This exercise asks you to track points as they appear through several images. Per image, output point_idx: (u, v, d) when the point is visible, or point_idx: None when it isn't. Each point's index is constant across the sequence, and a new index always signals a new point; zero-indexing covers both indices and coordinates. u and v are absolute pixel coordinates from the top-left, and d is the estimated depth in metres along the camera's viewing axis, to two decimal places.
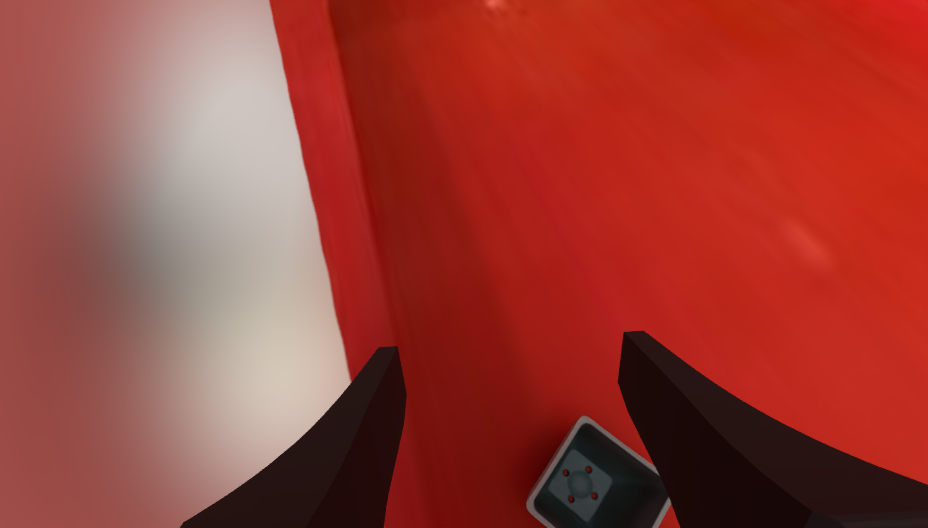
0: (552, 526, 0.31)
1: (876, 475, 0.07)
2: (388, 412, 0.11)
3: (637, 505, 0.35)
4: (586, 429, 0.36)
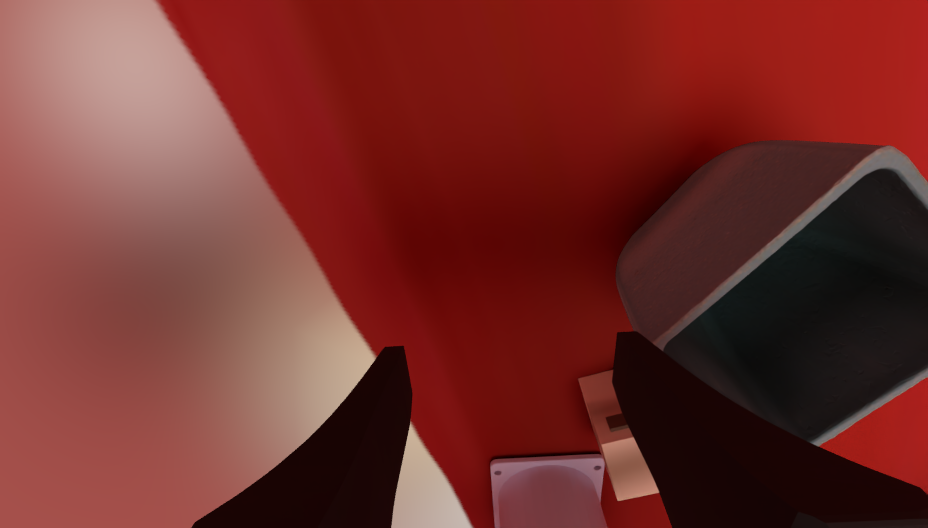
0: None
1: (863, 476, 0.07)
2: (395, 412, 0.11)
3: (837, 296, 0.17)
4: None
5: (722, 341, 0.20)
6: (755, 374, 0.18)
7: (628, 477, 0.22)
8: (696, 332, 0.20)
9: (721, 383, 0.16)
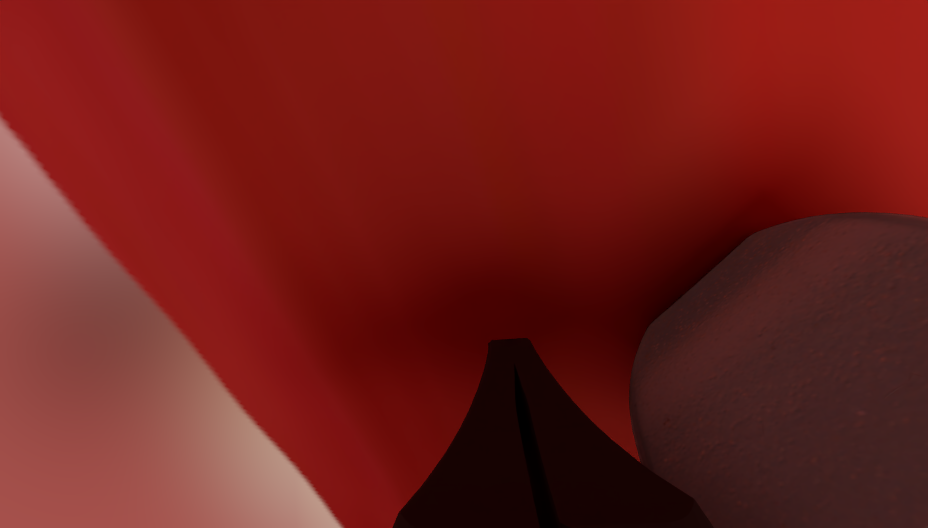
0: None
1: (651, 485, 0.07)
2: None
3: None
4: None
5: None
6: None
7: None
8: None
9: None
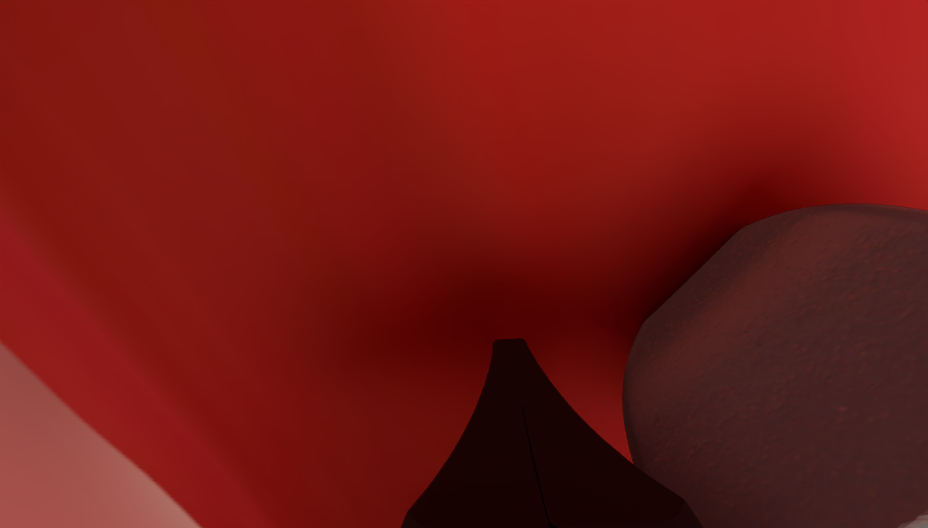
0: None
1: (642, 486, 0.07)
2: None
3: None
4: None
5: None
6: None
7: None
8: None
9: None
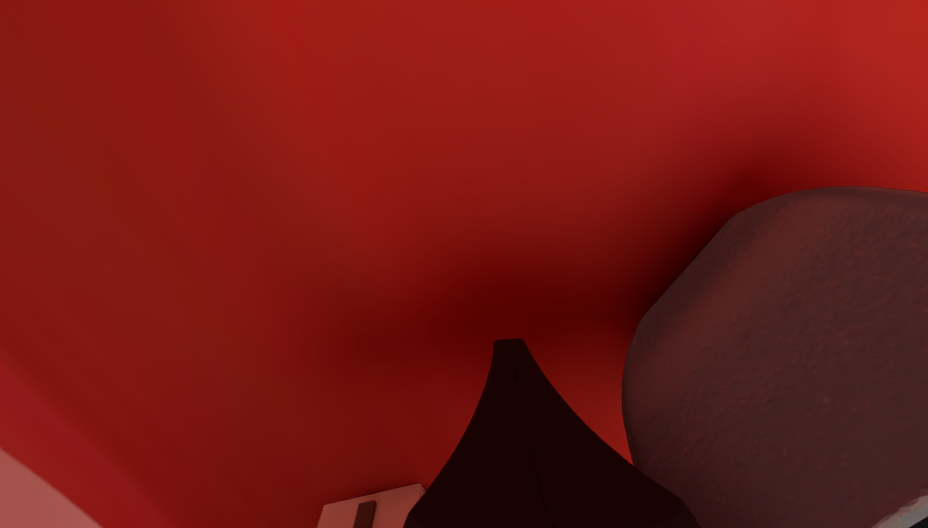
0: None
1: (640, 487, 0.07)
2: None
3: None
4: None
5: None
6: None
7: None
8: None
9: None
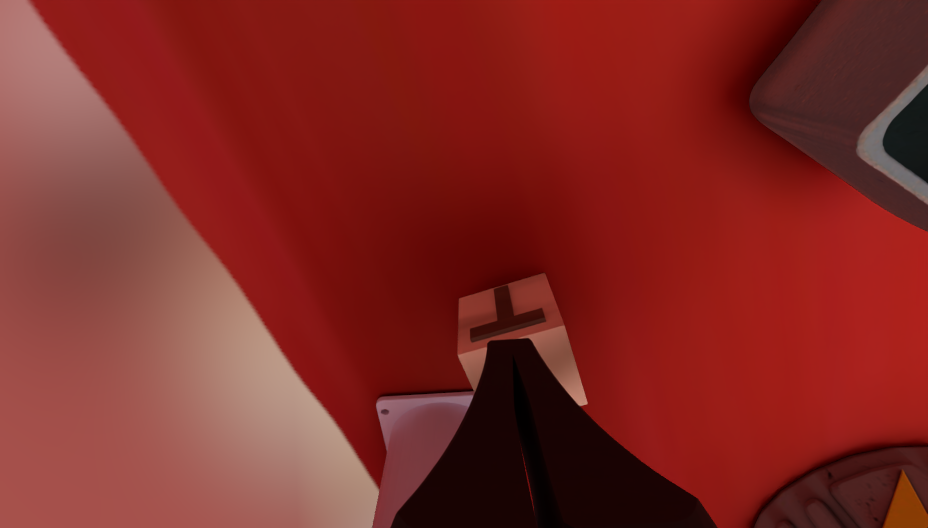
0: (921, 182, 0.11)
1: (654, 485, 0.07)
2: None
3: None
4: None
5: None
6: None
7: None
8: None
9: None
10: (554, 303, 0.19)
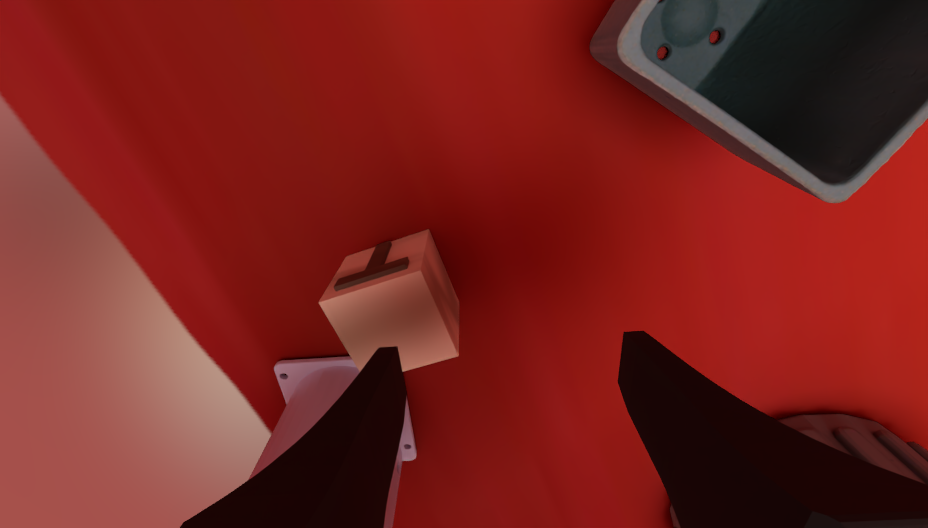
0: (689, 91, 0.11)
1: (876, 475, 0.07)
2: (388, 412, 0.11)
3: (870, 18, 0.14)
4: None
5: None
6: (777, 144, 0.15)
7: (366, 349, 0.20)
8: None
9: None
10: (422, 253, 0.19)
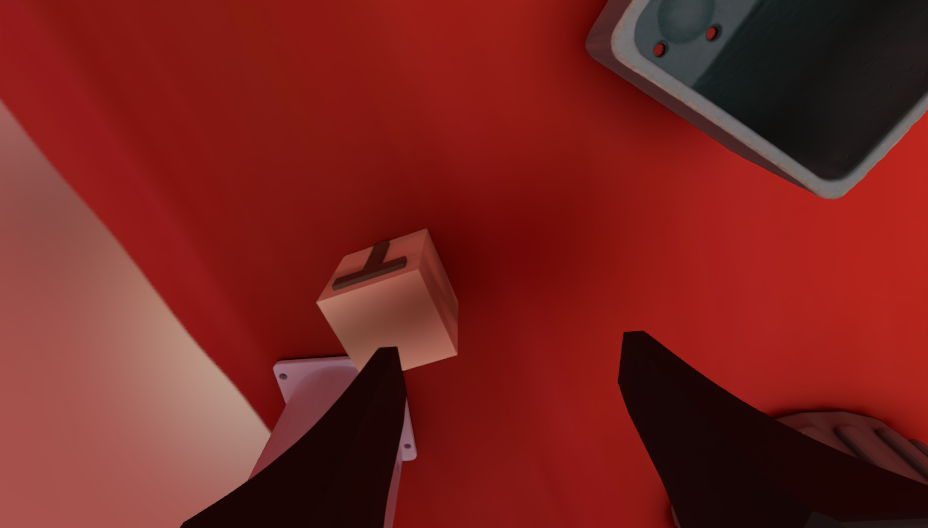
0: (684, 87, 0.11)
1: (876, 475, 0.07)
2: (388, 412, 0.11)
3: (867, 13, 0.14)
4: None
5: None
6: (774, 140, 0.15)
7: (364, 348, 0.20)
8: None
9: None
10: (420, 252, 0.19)
